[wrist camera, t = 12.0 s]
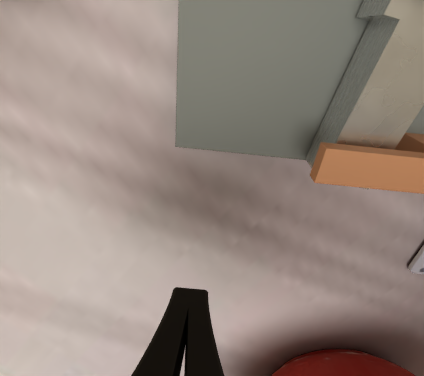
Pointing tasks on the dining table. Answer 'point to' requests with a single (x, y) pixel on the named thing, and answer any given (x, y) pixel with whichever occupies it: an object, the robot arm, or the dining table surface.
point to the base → (262, 72)
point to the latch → (379, 80)
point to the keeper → (373, 165)
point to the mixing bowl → (340, 365)
